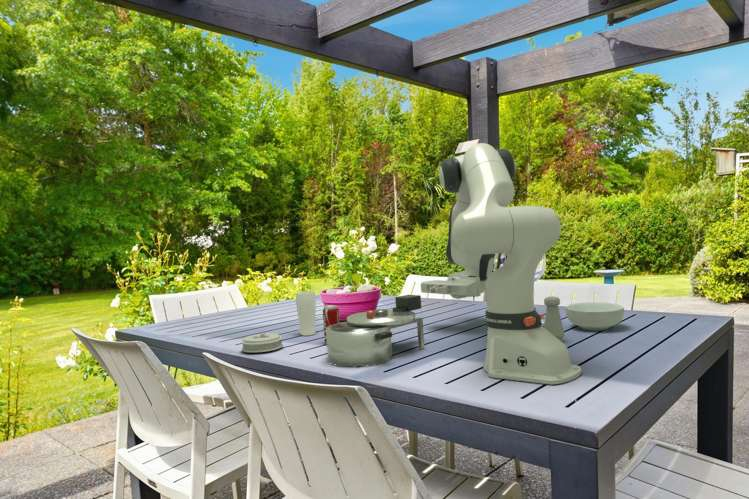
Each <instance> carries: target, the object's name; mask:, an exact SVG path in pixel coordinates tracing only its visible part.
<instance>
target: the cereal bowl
mask: <svg viewBox="0 0 749 499" xmlns="http://www.w3.org/2000/svg"><path fill="white" fill-rule="evenodd" d="M565 313H566V317H567V319H568V320H569V322H570V323H571V324H573V325H575V326H578V327H580V328H582V329H583V330H585V331H594V332H595V331H596V332H597V331H598V332H599V331H606V330H609V328H612V327H615V326H616V325H619V324H620V322H621V321H622V320H623V317H624V314H625V307H624V306H623V305H621V304H618V303H612V302H603V301H601V302H600V301H590V302H589V301H588V302H587V301H586V302H585V301H583V302H576V303H572V304H567V305H566V306H565Z"/></svg>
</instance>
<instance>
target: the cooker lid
mask: <svg viewBox="0 0 749 499" xmlns="http://www.w3.org/2000/svg"><path fill="white" fill-rule="evenodd" d="M394 299H395V307H393V308H392V309H385V308H380V309H379V308H377V309H374V310H372V309H370V310H365V311H364V312H356V313H353V314H350V315H348V316H347V317H346V322H347V323H348V324H349V325H353V326H362V327H378V326H391V325H398V324H404V323H408V322H411V321H413V320H415V319H416V313H415V312H413V311H417V310H420V309H422V298H421V295H419V294H417V295H416V294H405V295H400V296H396V297H395V298H394Z"/></svg>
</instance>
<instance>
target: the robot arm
mask: <svg viewBox="0 0 749 499" xmlns="http://www.w3.org/2000/svg"><path fill="white" fill-rule="evenodd" d="M516 167H517V164H516V160H515V158H514V156H513V154H512V152H511V151H510V150H508V149H507V148H496V149H495V147H493V145H490V144H489V143H486V142H481V143H479V142H478V143H475V144H474V145H471V146H470V147H469V148H468V149H467V150H466V151H465V153H464V154H460V155H457V156H454V157H453V156H451V157H448V158H445V159H443V160H442V161H441V163H440V166H439V171H438V179H439V182H440V184H441V187H443V190H444V191H446V192H447V193H452V194H456V201H455V202H453V204H452V205H451V208H450V212H449V219H448V238H447V243H446V248H445V257H446V260H447V261H448V262H449V263H450V264H453V265H456V266H459V267H462V268H464V269H465V270H464V271H459V272H454V273H451V274H450V275H448V277H447V280H440V279H439V280H437V279H435V280H427V281H425V280H424V281H422V282H421V283H420V292H421V293H423V294H424V293H425V294H437V295H450V296H451V297H452V298H453V299H458V300H459V299H464V298H465V299H466V298H470V297H471V298H472V297H473V298H475V297H477V298H478V297H480V296H481V294H483V293H485V295H486V296H485V298H486V310H485V314H484V315H485V316H484V317H485V327H486V331H487V337H486V338H487V340H486V350H485V358H484V363H483V367H482V368H483V370H484V371H485V372H486V373H487V374H488V377H489V378H493V379H495V378H496V379H501V380H502V379H504V380H511V381H520V382H528V383H535V384H543V385H558V384H559V385H560V384H564V383H567V382H571V381H573V380H574V379H577V378H578V377H579V376H581V375H582V373H583V371H582V368H581V366H580V365H576V364H572V361H571V360H572V359H571V357H570V356H571V355H570V351H569V348H568V346H567V345H566V344H565V343H564V342H563V341H562V342H561V341H560V340H559V339H557V338H556V337H555V336H554V335H552V334H551V333H550V332H549V331H548V330H546V329H545V328H544V325H543V323H542V320H545V317H544V316H546V313H542V314H539V313H538V311H537V310H536V308H535V302H534V300H535V298H534V293H535V292H534V290H535V289H534V288H535V275H536V272H537V268H538V266H539V264H540V262H541V260H542V259H543V257H544V255H545V254H547V252H548V251H549V250H550V249H551V248H552V247H554V245H556V243H557V241H558V240H559V238H560V236H561V232H562V224H561V220H560V218H559V216H558V213H556V212H555V211H554V209H552V208H551V207H545V206H538V205H521V206H520V205H519V206H518V205H517V206H509V205H510V204H511V203H512V201H513V200H514V197H515V189H516V188H515V185H514V183H513V180H514V178H515V176H516V170H517V168H516ZM496 254H507V257H506V260H505V262H504V263H503V265H502V266H500V267H499V268H496V269H495V271H493V264H494V256H496ZM492 271H493V272H492Z"/></svg>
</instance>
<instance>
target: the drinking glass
mask: <svg viewBox="0 0 749 499" xmlns="http://www.w3.org/2000/svg"><path fill="white" fill-rule="evenodd" d="M295 304H296V310H297V317H298V324H299V331H300V332H299V333H300V335H301V336H302V337H303V336H304V337H308V336H313V335H315V334H316V307H317V304H316V292H315V291H312V290H311V291H310V290H309V291H308V290H307V291H299V292H296V293H295Z"/></svg>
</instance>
